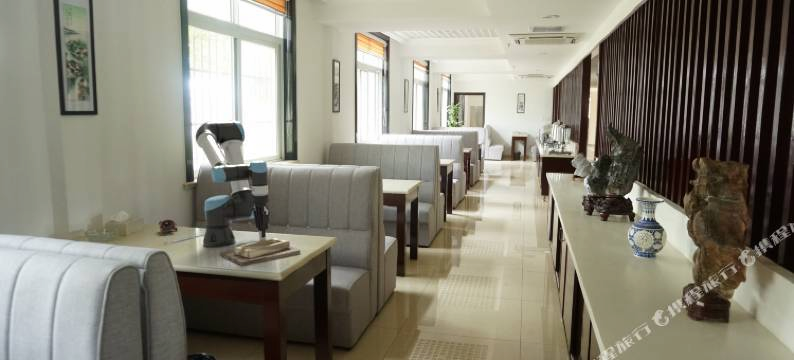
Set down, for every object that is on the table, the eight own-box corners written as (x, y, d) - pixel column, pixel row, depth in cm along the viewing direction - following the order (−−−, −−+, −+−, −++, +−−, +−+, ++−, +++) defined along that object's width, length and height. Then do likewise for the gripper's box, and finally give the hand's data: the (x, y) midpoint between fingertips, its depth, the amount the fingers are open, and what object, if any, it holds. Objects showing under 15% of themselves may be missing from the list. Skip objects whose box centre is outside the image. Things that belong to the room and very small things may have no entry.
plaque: (204, 231, 303) (204, 230, 303) (216, 233, 298) (216, 232, 298) (151, 244, 275) (150, 243, 275) (163, 246, 270) (163, 245, 270)
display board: (219, 255, 251) (219, 251, 251) (274, 244, 269) (274, 240, 269) (242, 266, 233) (242, 262, 233) (300, 253, 251) (300, 250, 251)
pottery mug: (182, 231, 303) (179, 220, 298) (170, 242, 297) (166, 231, 291) (166, 224, 307) (162, 213, 302) (153, 235, 301) (149, 224, 296)
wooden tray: (233, 254, 246) (233, 246, 245) (272, 243, 263) (272, 236, 262) (250, 258, 238) (250, 250, 238) (289, 247, 255) (289, 240, 255)
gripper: (246, 193, 258) (249, 242, 262) (259, 197, 249) (262, 247, 252) (260, 191, 263) (263, 239, 267) (274, 194, 253) (276, 244, 257)
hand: (262, 243), depth 259 cm, fingers closed
